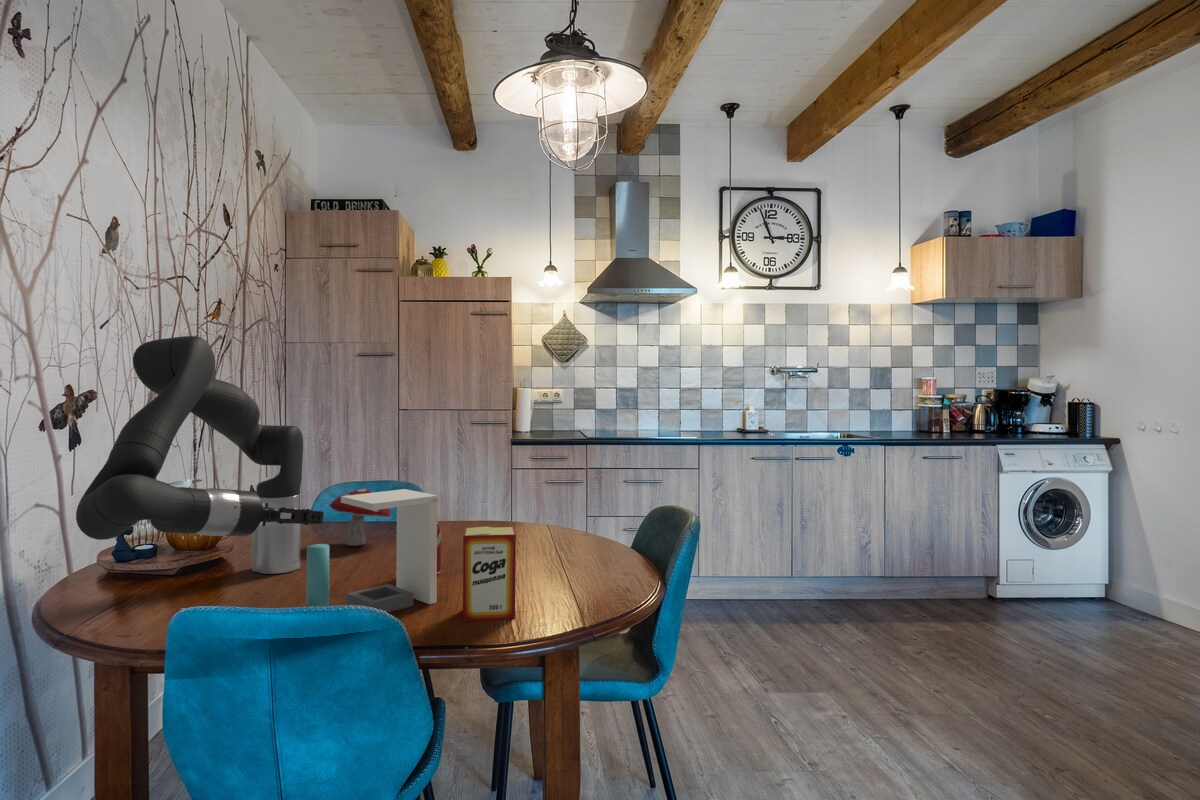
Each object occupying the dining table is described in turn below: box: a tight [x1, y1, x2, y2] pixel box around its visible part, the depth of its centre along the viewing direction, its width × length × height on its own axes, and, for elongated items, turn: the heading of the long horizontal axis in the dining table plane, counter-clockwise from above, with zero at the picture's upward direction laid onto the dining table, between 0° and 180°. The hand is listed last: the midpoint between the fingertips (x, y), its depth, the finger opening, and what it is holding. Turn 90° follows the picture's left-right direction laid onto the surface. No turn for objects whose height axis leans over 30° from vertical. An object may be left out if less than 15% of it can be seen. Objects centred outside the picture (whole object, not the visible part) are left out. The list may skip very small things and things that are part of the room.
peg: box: [306, 543, 330, 607], centre depth 132 cm, size 4×4×12 cm
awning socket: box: [340, 488, 439, 613], centre depth 136 cm, size 14×12×21 cm
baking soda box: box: [462, 526, 517, 622], centre depth 130 cm, size 10×6×16 cm
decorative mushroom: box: [329, 488, 392, 547], centre depth 185 cm, size 16×16×15 cm
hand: (305, 516), depth 127 cm, fingers open, 8 cm apart
